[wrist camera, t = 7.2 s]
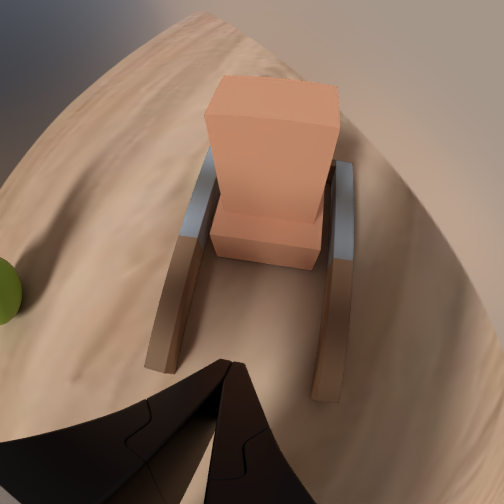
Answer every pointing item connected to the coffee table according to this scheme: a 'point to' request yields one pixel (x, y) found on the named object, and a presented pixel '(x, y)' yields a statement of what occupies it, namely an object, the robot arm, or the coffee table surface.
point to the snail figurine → (9, 291)
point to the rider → (271, 167)
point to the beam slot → (189, 259)
